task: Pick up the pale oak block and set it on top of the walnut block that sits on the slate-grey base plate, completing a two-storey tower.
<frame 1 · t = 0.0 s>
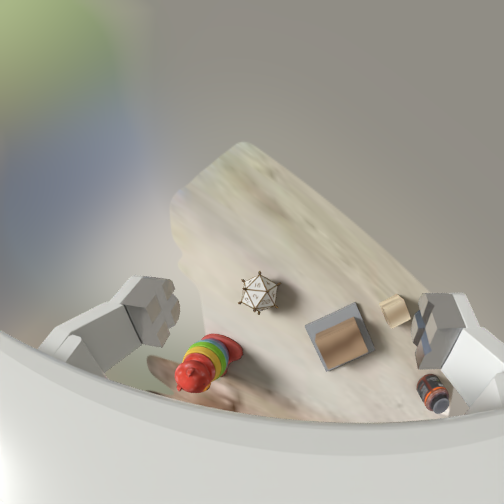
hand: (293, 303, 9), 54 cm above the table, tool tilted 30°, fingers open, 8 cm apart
game die: (263, 290, 65), on the table
stacking bear: (217, 351, 69), on the table
oak block: (391, 307, 59), on the table
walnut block: (340, 339, 60), point 1 cm above the table, touching base plate
supplement bottle: (426, 383, 57), on the table
base plate: (340, 337, 61), on the table
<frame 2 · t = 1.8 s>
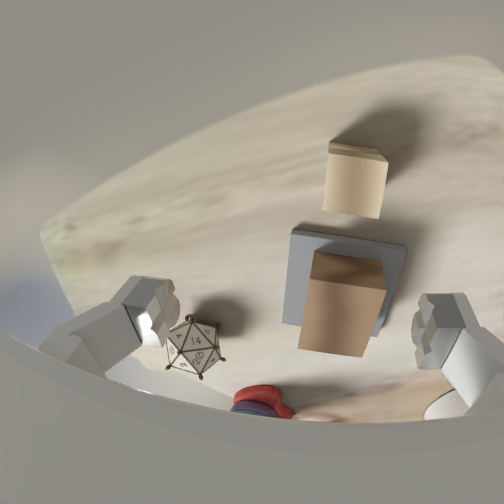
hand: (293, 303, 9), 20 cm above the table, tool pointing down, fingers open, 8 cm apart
game die: (204, 326, 41), on the table
stacking bear: (261, 401, 48), on the table
oak block: (350, 168, 26), on the table
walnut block: (340, 291, 31), point 1 cm above the table, touching base plate
base plate: (340, 285, 32), on the table
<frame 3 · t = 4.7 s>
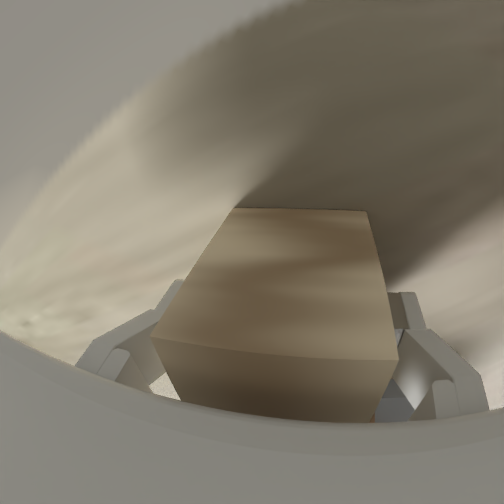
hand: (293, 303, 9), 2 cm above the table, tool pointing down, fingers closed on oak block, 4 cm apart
oak block: (299, 265, 11), on the table, touching gripper
base plate: (308, 424, 17), on the table
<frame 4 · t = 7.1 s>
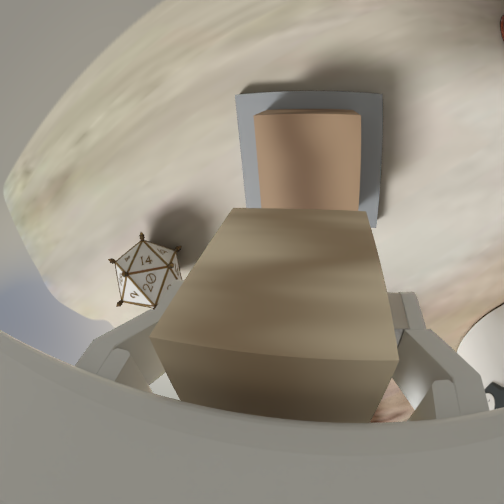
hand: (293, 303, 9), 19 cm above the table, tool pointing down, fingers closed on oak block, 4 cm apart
game die: (165, 255, 34), on the table
oak block: (299, 265, 11), point 17 cm above the table, touching gripper
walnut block: (311, 161, 24), point 1 cm above the table, touching base plate
base plate: (311, 157, 25), on the table
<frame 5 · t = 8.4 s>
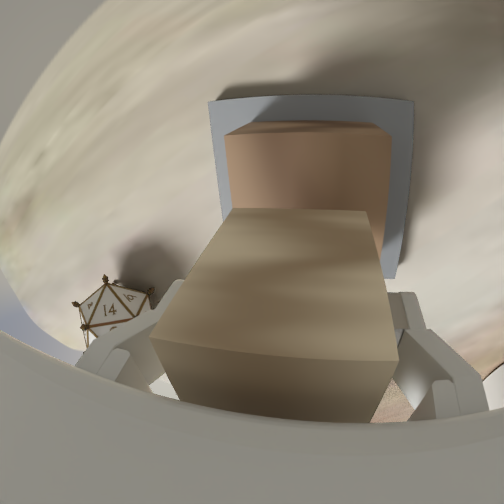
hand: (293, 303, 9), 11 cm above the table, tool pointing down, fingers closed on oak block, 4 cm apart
game die: (138, 295, 28), on the table
oak block: (299, 265, 11), point 9 cm above the table, touching gripper
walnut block: (313, 193, 18), point 1 cm above the table, touching base plate
base plate: (314, 187, 19), on the table
when the fingers open (9 cm above the table, at t = 9.6 s): oak block drops 1 cm, resting on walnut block.
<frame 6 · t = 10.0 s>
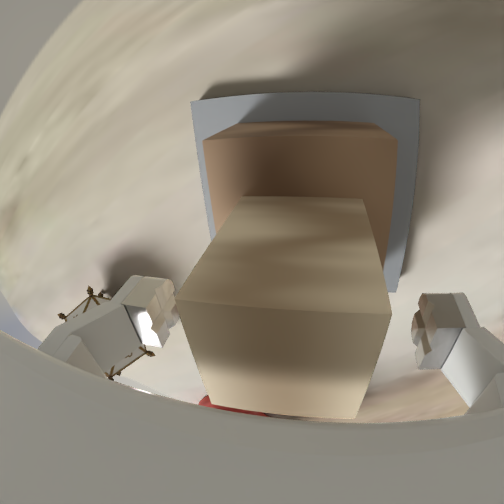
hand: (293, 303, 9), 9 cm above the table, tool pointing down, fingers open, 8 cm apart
game die: (126, 306, 27), on the table
stacking bear: (236, 412, 33), on the table
oak block: (302, 249, 12), point 6 cm above the table, touching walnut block
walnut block: (307, 202, 16), point 1 cm above the table, touching base plate, oak block
base plate: (308, 194, 17), on the table
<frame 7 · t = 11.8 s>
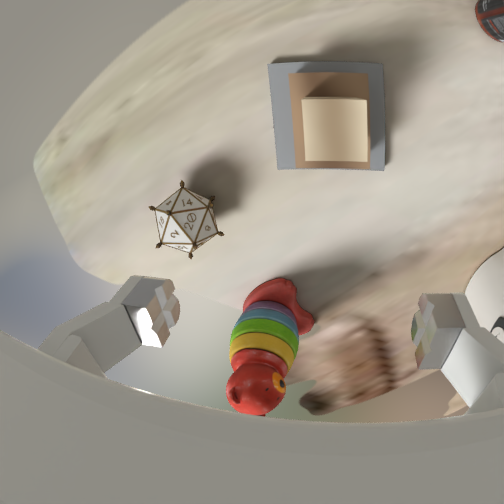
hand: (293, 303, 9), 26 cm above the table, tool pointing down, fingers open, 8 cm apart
game die: (198, 207, 39), on the table
stacking bear: (274, 309, 45), on the table
oak block: (332, 121, 24), point 6 cm above the table, touching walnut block
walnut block: (329, 115, 28), point 1 cm above the table, touching base plate, oak block
supplement bottle: (491, 20, 16), on the table
base plate: (329, 114, 29), on the table
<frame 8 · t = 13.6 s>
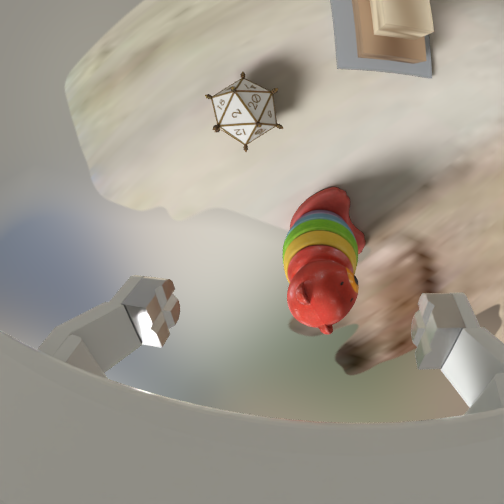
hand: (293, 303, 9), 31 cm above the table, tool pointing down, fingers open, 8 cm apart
game die: (252, 108, 35), on the table
stacking bear: (324, 227, 41), on the table
oak block: (392, 18, 20), point 6 cm above the table, touching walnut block
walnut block: (383, 26, 24), point 1 cm above the table, touching base plate, oak block
base plate: (381, 28, 25), on the table
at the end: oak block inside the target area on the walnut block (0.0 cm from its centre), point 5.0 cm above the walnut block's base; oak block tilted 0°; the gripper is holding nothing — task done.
